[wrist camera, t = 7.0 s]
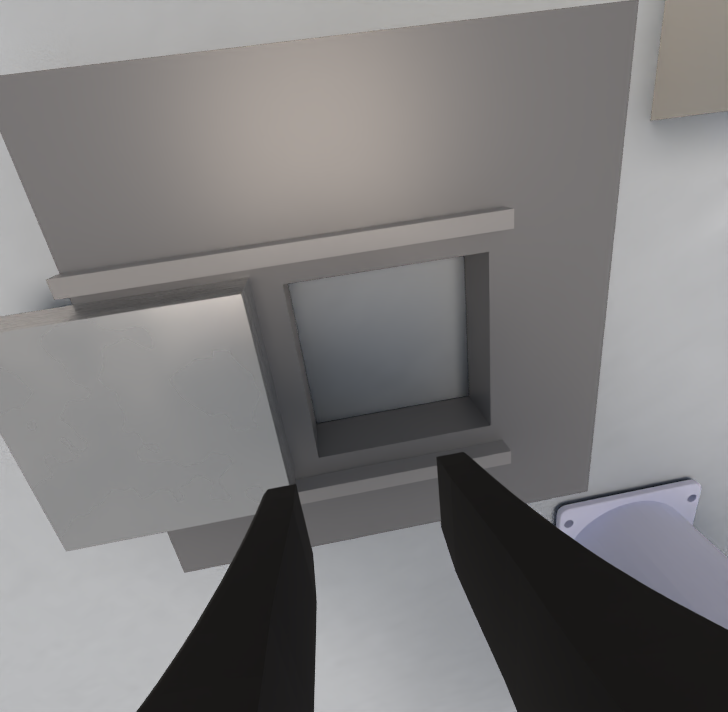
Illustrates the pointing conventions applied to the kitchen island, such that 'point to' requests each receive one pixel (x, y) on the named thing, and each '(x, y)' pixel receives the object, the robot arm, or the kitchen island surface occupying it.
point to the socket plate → (361, 226)
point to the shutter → (143, 412)
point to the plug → (692, 59)
